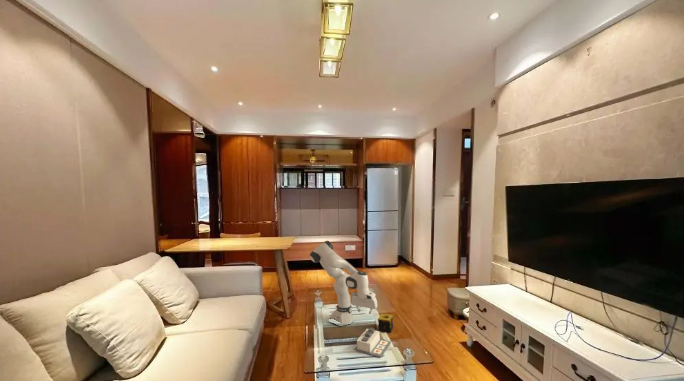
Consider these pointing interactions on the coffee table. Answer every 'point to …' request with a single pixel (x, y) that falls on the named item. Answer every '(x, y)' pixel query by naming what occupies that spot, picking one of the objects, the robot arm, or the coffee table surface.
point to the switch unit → (372, 345)
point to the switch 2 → (368, 334)
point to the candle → (385, 323)
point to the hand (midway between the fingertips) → (364, 312)
